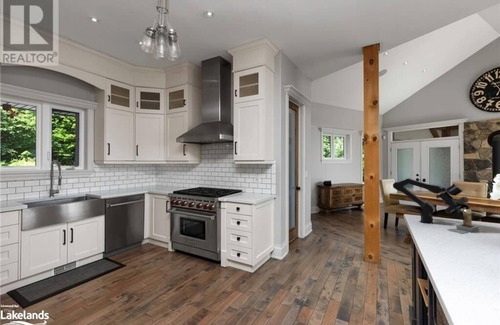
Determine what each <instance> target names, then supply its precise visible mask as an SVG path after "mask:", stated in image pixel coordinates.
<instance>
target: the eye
mask: <svg viewBox="0 0 500 325" xmlns="http://www.w3.org/2000/svg"><path fill="white" fill-rule="evenodd" d="M455 226H456V229H458V230H463V231H467V232H468V233H470V234H471V233H477V232H480V231H479V230H480V227H479V226H477V225H472V227H466V226H463V223H460V224H456V225H455Z"/></svg>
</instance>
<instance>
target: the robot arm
mask: <svg viewBox="0 0 500 325" xmlns="http://www.w3.org/2000/svg"><path fill="white" fill-rule="evenodd" d="M406 185H412V186H415V187H419V188H422V189H425V190H426V191H429V192H431V193H433V194H436V196H435V197H436V199H441V200H442V201H443V202H444V205H446V206H447V207H446V208H445V209H444V212H445V213H446V214H449V215H451V216H454V217H456V218H459V219H460V220H462V221H463V220H465V218H464V217H463V209H471V205H470V204H469V198H467V196H463V197H460V198H454V197H457V196H458V195H459V194H461V193H462V192H464V190H463V189H462V187H460V186H458V184H457V185H456V184H455V183H453V184H452V185H450V186H449V187H442V185H439V184H430V183H426V182H424V181H419V180H417V179H412V178H409V177H408V178H405V179H403V180H401V181H395V182H393V184H392V187H393V189H395V190H397V191H399V192H401V193H402V194H404V195H405V196H407V197H408V198H409V199H410V200H412V201H413V202H414V203H416V204H417V205H418V206H419V207H420V208H421V209H422V210H421V211H419V212H420V213H419V214H420V221H419V222H420V223H423V224H427V225H430V224H434V217H433V213H434V212H435V211H436V206H435V205H434V204H432V203H431V202H430V201H425V200H424V199H422V198H420V197H419V196H417V195H416V194H415V193H414V192H412V190H409V189H408V188H407V186H406ZM472 219H474V216H473V214H472V213H471V220H472Z"/></svg>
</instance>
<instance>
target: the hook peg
mask: <svg viewBox="0 0 500 325" xmlns="http://www.w3.org/2000/svg"><path fill="white" fill-rule="evenodd" d="M471 214H472V209H471V208H470V209H463V213H462V216H463V217H464V218H465V220H462V224H463V226H466V227H472V218H471Z"/></svg>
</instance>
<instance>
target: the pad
mask: <svg viewBox="0 0 500 325" xmlns="http://www.w3.org/2000/svg"><path fill="white" fill-rule="evenodd" d="M447 231H448V232H453V233H457V234H460V235H463V234H467V233H469V232H467V231H463V230H458V229H457V228H449V229H447Z"/></svg>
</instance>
